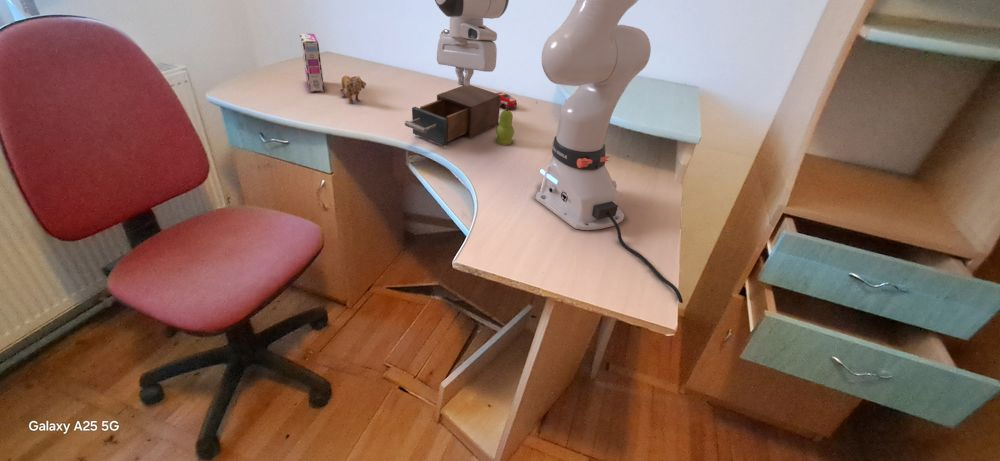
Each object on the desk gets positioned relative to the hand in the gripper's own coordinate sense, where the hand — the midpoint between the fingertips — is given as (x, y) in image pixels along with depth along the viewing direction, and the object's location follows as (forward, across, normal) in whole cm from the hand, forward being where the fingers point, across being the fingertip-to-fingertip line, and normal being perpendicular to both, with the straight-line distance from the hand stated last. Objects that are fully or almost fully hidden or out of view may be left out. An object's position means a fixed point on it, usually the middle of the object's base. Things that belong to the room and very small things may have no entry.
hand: (463, 85), depth 126 cm
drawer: (+15, -6, -4) cm, 16 cm away
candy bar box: (+8, -62, -12) cm, 64 cm away
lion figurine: (+10, -46, -8) cm, 47 cm away
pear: (+15, +7, +10) cm, 20 cm away
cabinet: (+13, -8, +10) cm, 18 cm away
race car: (+9, -14, +30) cm, 35 cm away
